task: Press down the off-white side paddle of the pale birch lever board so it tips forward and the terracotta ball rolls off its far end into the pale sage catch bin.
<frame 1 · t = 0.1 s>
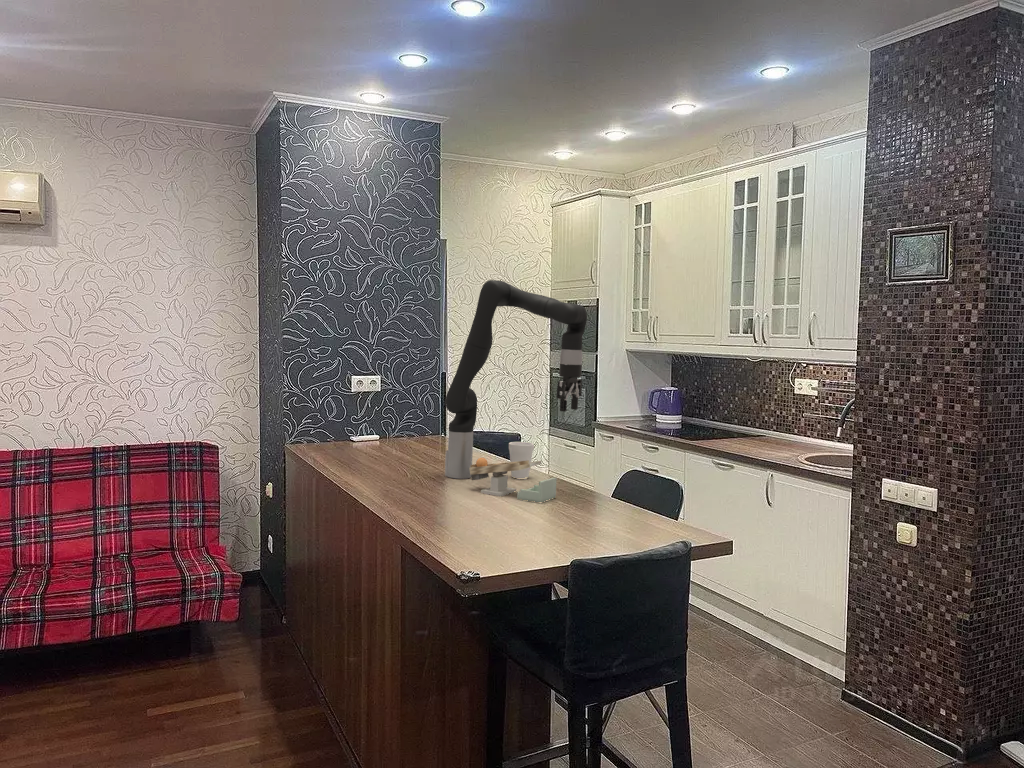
hand: (568, 410, 269), 29 cm above the countertop, tool pointing down, fingers open, 8 cm apart
ball: (481, 463, 273), point 9 cm above the countertop, tilted 8°, touching lever board
foam cup: (519, 478, 297), on the countertop
lever board: (505, 467, 273), point 8 cm above the countertop, hinge at -12.0°, touching ball
catch bin: (536, 498, 262), on the countertop
lever stand: (498, 492, 270), on the countertop
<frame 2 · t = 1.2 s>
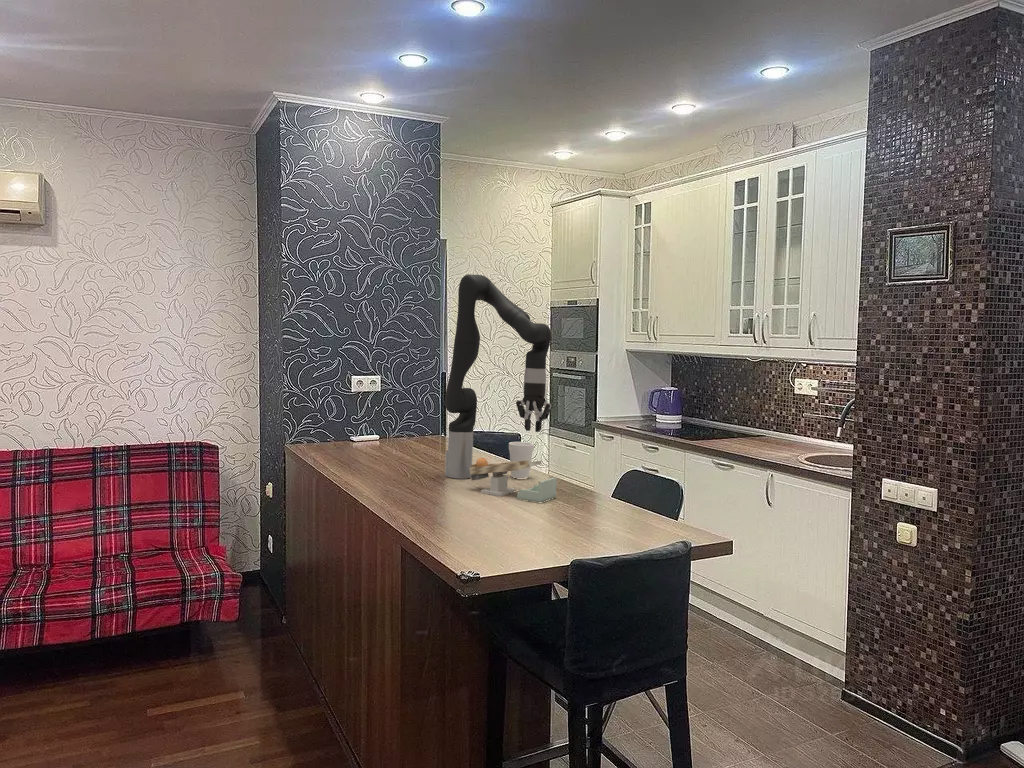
hand: (532, 430, 272), 21 cm above the countertop, tool pointing down, fingers open, 3 cm apart
nothing on the countertop moved.
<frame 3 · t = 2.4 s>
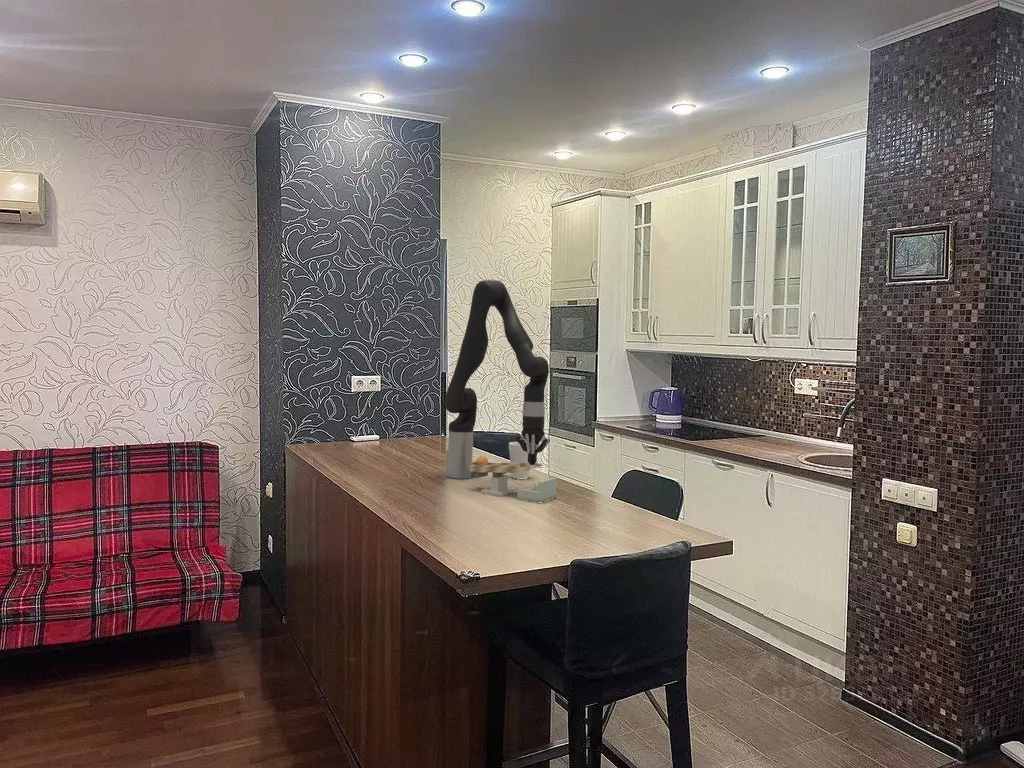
hand: (532, 464, 273), 10 cm above the countertop, tool pointing down, fingers closed
ball: (482, 461, 273), point 10 cm above the countertop, touching lever board
lever board: (505, 467, 273), point 8 cm above the countertop, hinge at -6.7°, touching ball, gripper
everything else where it was.
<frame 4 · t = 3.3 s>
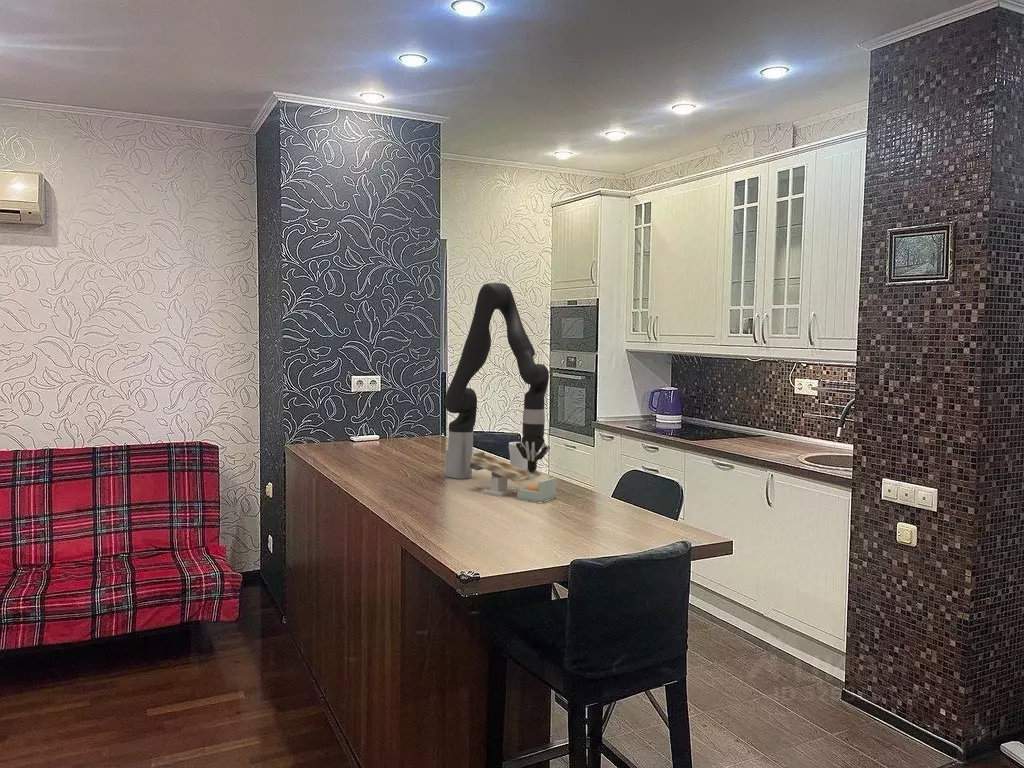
hand: (532, 471, 273), 7 cm above the countertop, tool pointing down, fingers closed
ball: (532, 489, 262), point 3 cm above the countertop, tilted 6°, touching catch bin
lever board: (505, 467, 273), point 8 cm above the countertop, hinge at 12.7°, touching gripper
everything else where it was.
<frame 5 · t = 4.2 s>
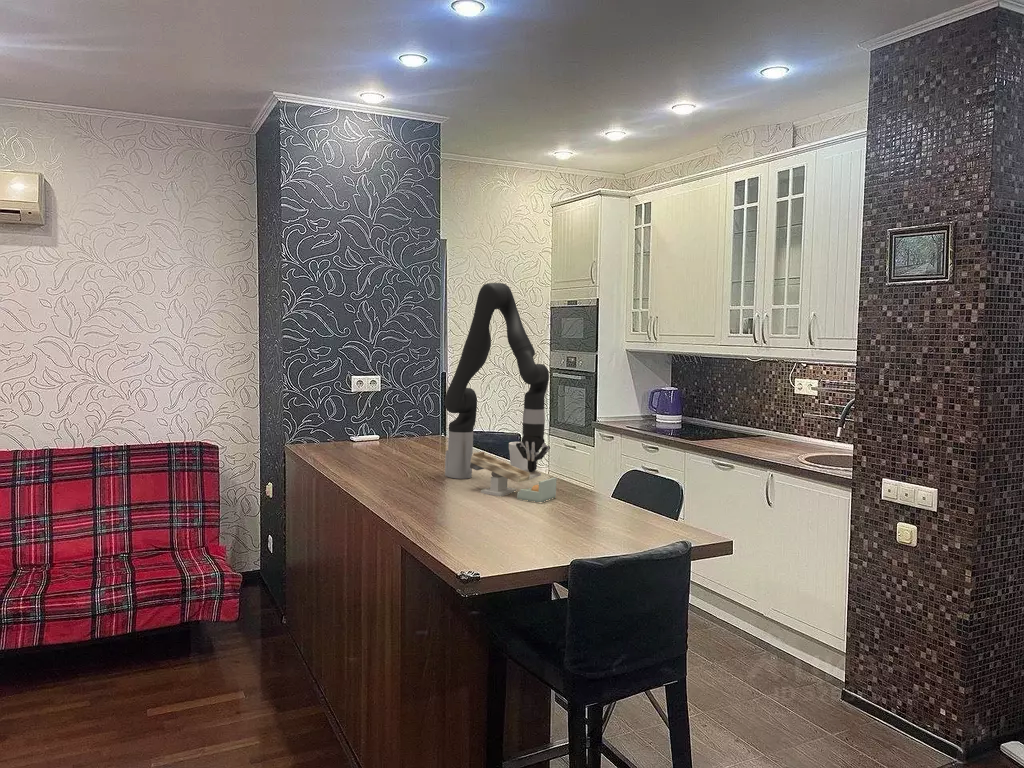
hand: (532, 471, 273), 7 cm above the countertop, tool pointing down, fingers closed
ball: (537, 490, 262), point 3 cm above the countertop, tilted 45°, touching catch bin
everything else where it was.
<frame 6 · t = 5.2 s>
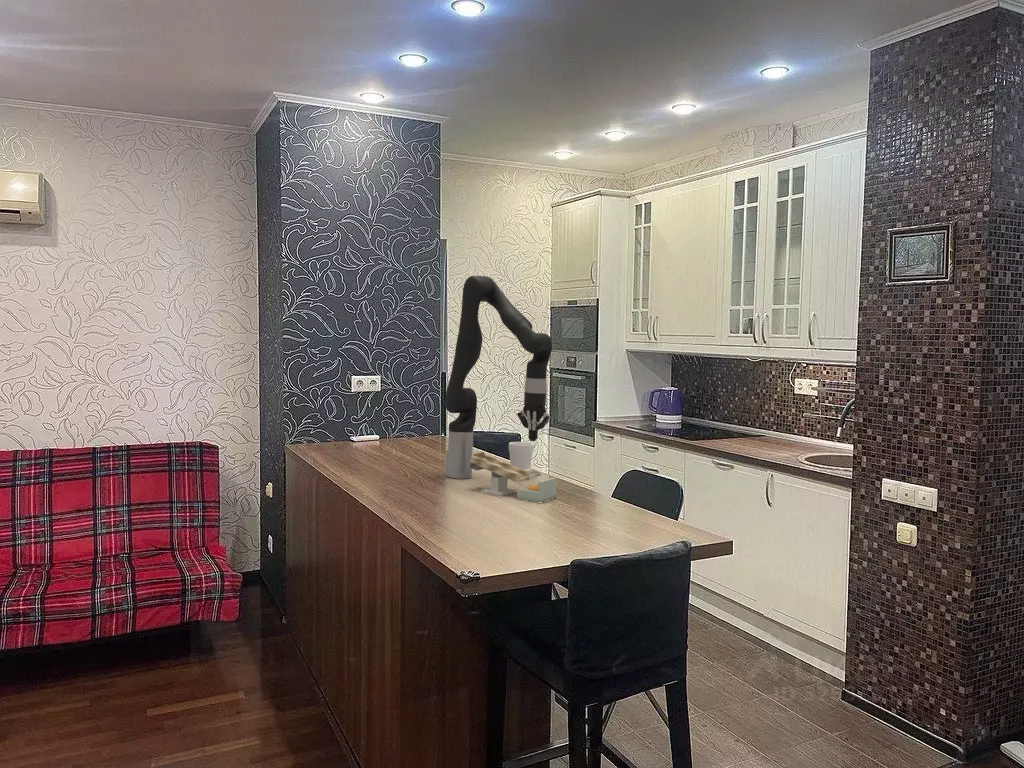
hand: (532, 440, 272), 18 cm above the countertop, tool pointing down, fingers closed
ball: (533, 490, 262), point 3 cm above the countertop, touching catch bin
lever board: (505, 467, 273), point 8 cm above the countertop, hinge at 12.8°
everything else where it was.
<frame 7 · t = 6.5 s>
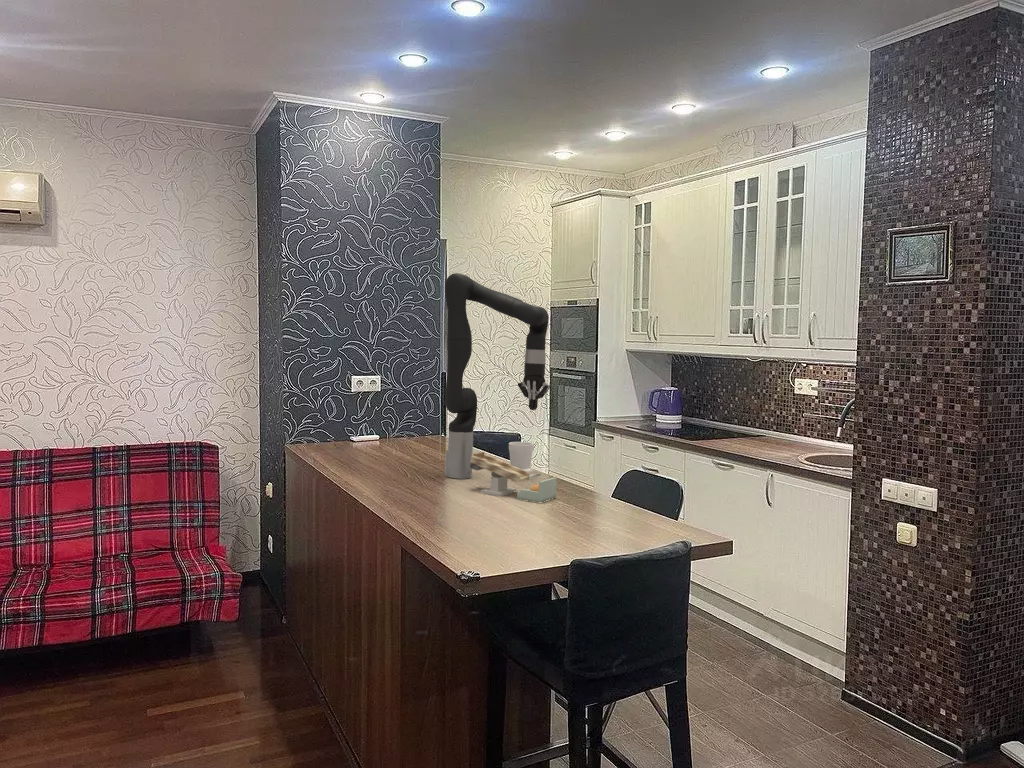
hand: (533, 409, 285), 27 cm above the countertop, tool pointing down, fingers closed
ball: (536, 490, 262), point 3 cm above the countertop, tilted 32°, touching catch bin
everything else where it was.
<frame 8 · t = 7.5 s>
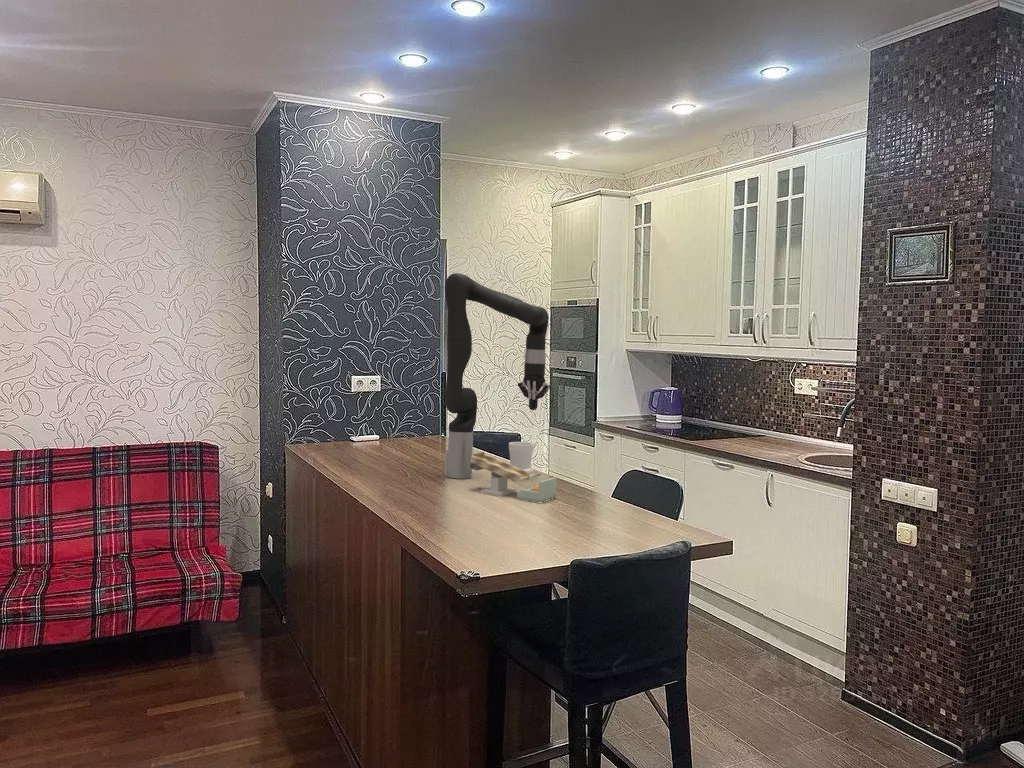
hand: (533, 409, 285), 27 cm above the countertop, tool pointing down, fingers closed
ball: (538, 490, 261), point 3 cm above the countertop, tilted 55°, touching catch bin
everything else where it was.
at the end: ball inside the target area on the catch bin (0.6 cm from its centre), point 2.8 cm above the catch bin's base; the gripper is holding nothing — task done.
